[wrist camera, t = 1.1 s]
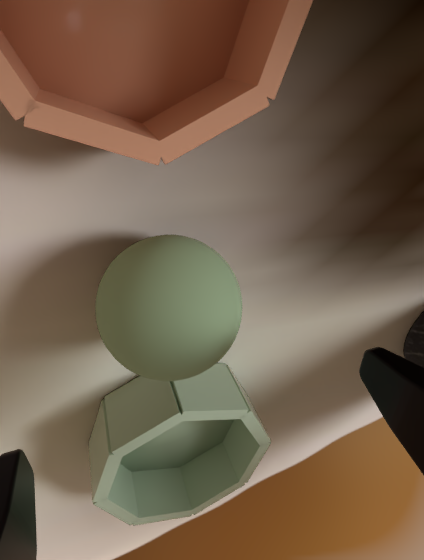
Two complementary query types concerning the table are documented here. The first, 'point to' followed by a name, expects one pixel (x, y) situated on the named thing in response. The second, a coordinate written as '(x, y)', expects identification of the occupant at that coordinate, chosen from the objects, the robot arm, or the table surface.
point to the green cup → (173, 446)
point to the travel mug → (415, 342)
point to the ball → (168, 307)
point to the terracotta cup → (144, 68)
